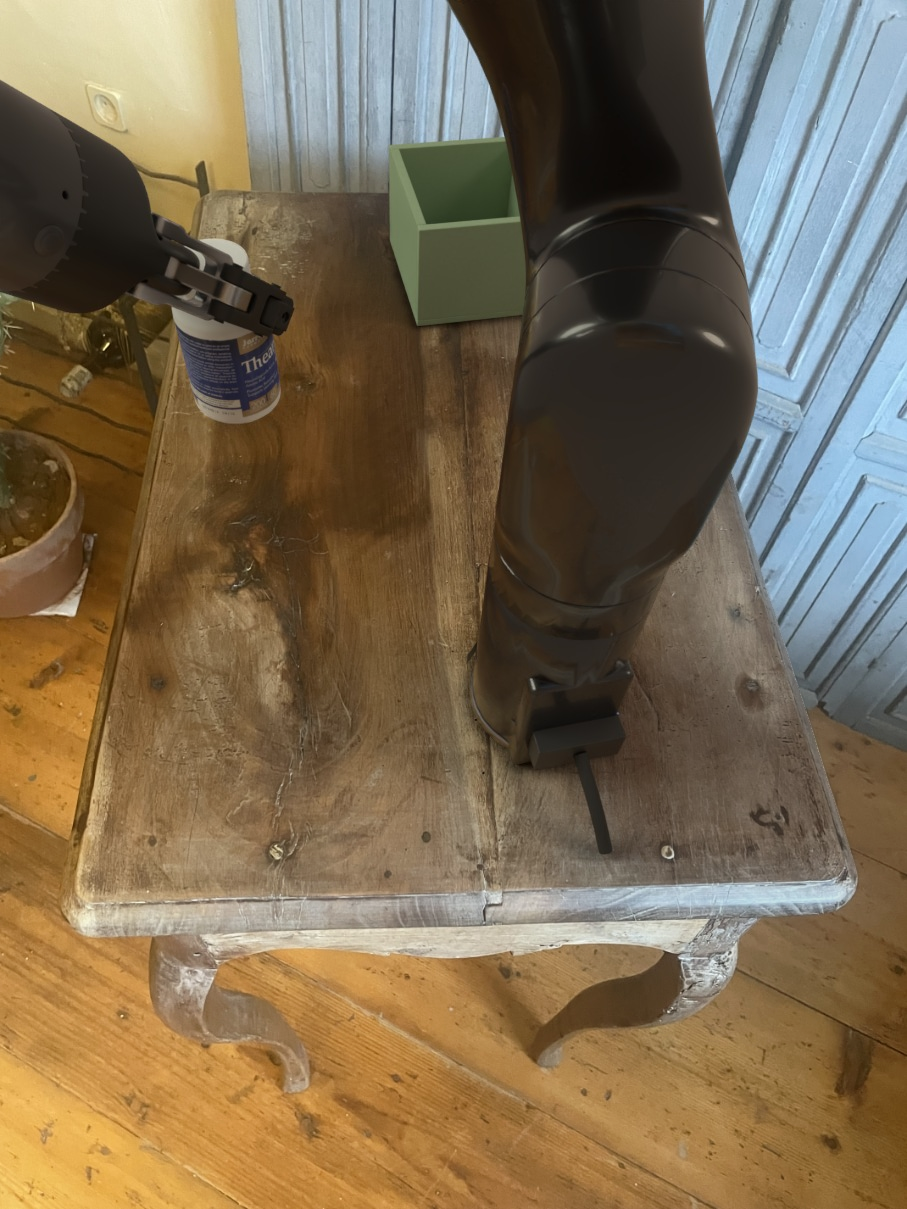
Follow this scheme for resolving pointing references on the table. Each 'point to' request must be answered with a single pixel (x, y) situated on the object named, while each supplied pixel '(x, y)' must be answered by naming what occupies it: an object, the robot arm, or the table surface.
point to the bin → (457, 230)
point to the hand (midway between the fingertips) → (241, 297)
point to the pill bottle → (228, 358)
